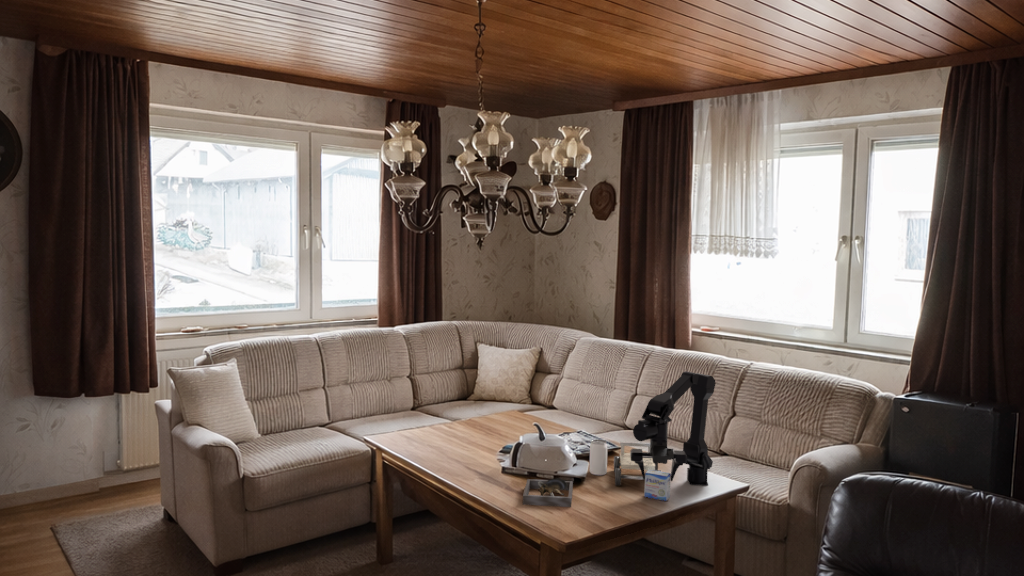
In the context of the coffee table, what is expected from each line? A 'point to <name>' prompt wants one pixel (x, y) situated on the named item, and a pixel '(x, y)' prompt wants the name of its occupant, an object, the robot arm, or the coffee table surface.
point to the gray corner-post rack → (631, 462)
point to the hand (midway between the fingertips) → (657, 480)
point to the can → (598, 457)
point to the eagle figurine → (552, 486)
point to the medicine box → (657, 485)
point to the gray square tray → (546, 499)
